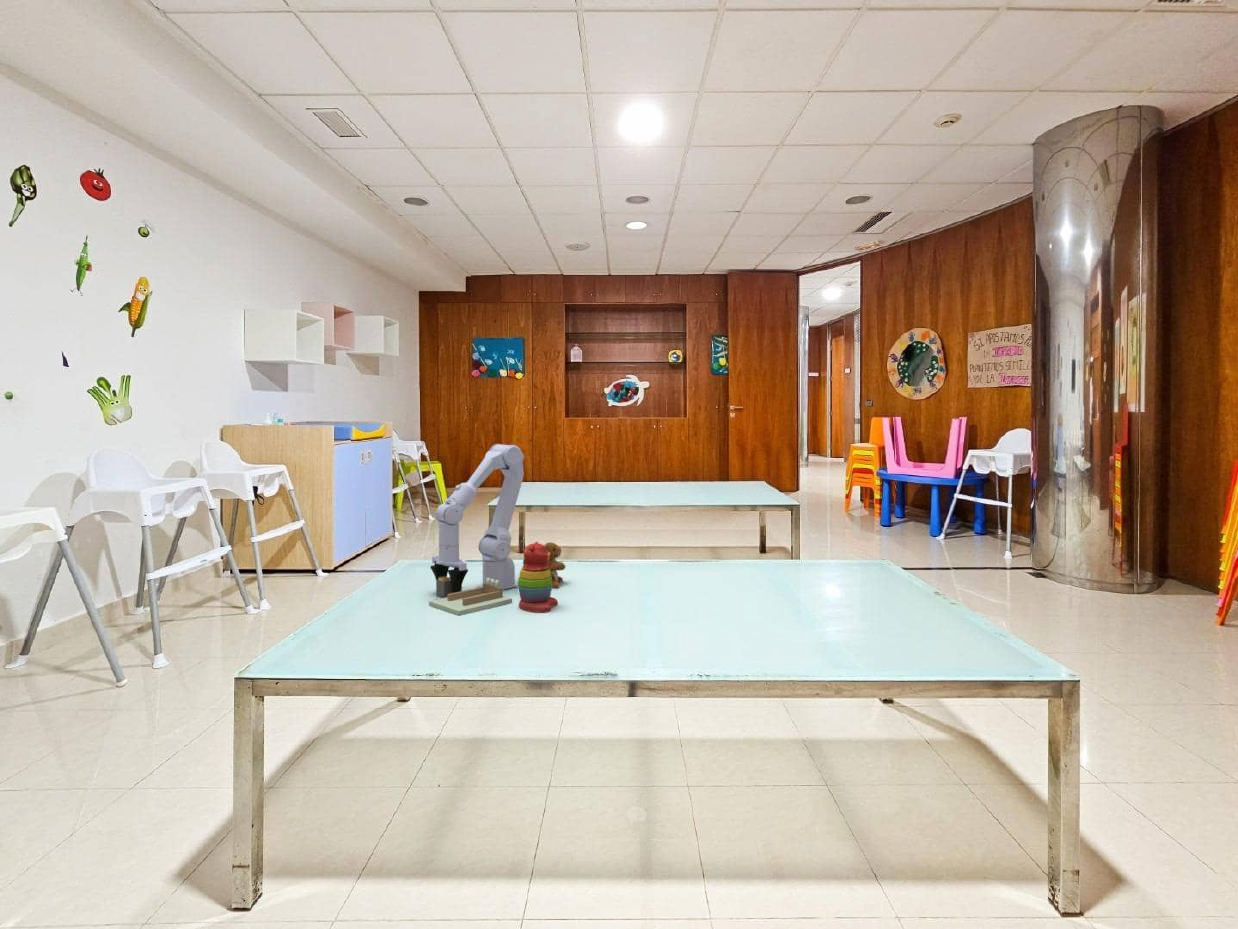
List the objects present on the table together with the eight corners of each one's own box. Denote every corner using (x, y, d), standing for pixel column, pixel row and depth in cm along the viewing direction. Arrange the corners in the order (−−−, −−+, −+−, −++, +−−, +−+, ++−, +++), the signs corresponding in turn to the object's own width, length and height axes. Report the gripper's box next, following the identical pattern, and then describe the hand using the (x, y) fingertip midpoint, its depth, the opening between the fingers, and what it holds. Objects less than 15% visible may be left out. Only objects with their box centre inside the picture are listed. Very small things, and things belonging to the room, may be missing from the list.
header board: (481, 593, 206) (481, 574, 206) (512, 602, 197) (512, 582, 197) (428, 605, 193) (428, 584, 193) (458, 615, 184) (458, 593, 183)
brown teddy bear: (560, 589, 214) (560, 546, 213) (516, 586, 216) (516, 544, 215) (568, 581, 224) (568, 540, 223) (525, 579, 226) (526, 539, 225)
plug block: (453, 593, 207) (453, 573, 207) (461, 595, 205) (461, 576, 204) (436, 596, 203) (436, 577, 203) (444, 599, 200) (444, 579, 200)
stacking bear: (548, 613, 187) (548, 547, 186) (512, 610, 189) (512, 545, 188) (559, 603, 197) (559, 540, 196) (525, 600, 199) (525, 539, 198)
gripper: (423, 543, 205) (423, 589, 206) (451, 550, 195) (451, 598, 196) (443, 540, 210) (443, 585, 211) (472, 546, 200) (472, 593, 201)
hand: (449, 591), depth 204 cm, fingers open, 7 cm apart
